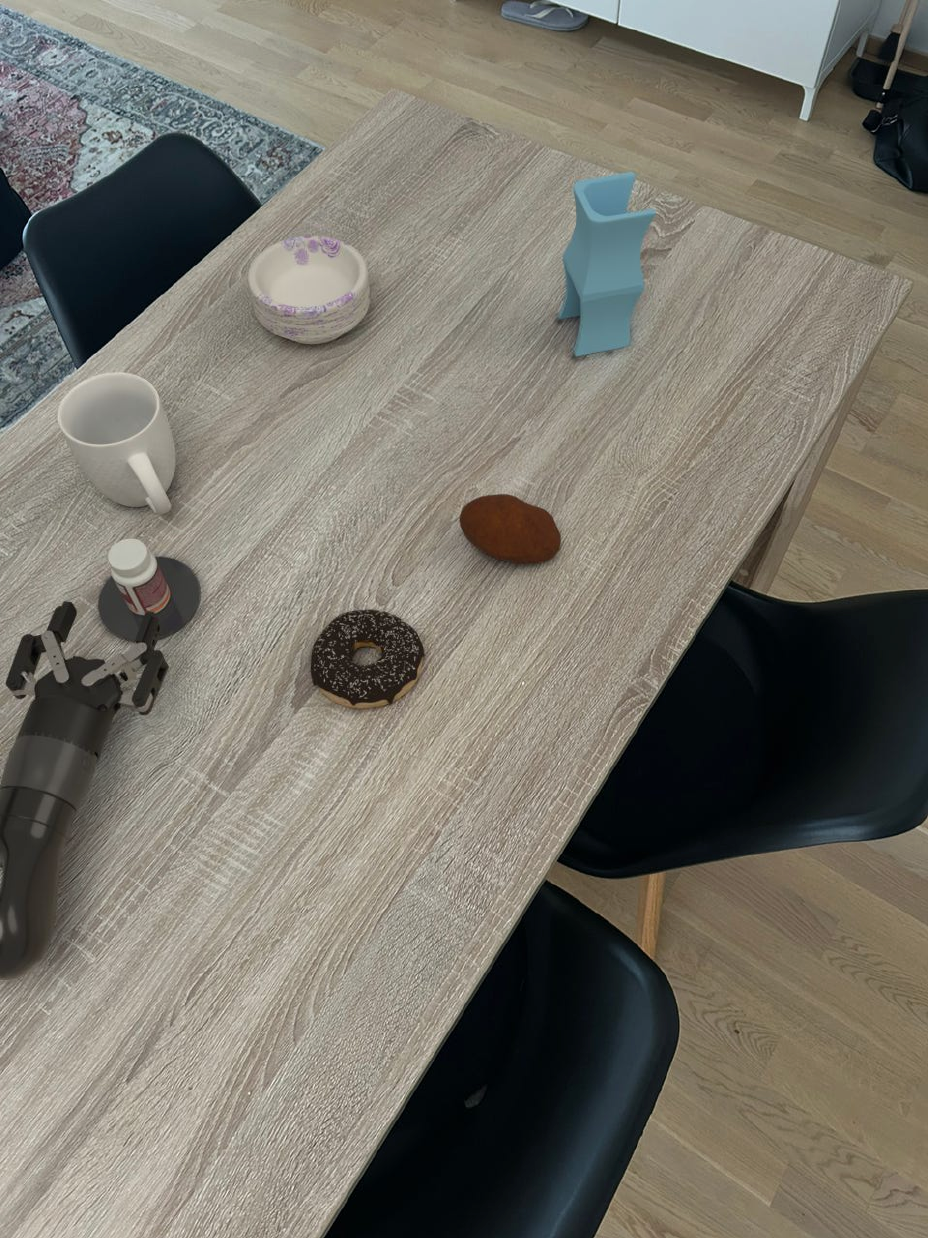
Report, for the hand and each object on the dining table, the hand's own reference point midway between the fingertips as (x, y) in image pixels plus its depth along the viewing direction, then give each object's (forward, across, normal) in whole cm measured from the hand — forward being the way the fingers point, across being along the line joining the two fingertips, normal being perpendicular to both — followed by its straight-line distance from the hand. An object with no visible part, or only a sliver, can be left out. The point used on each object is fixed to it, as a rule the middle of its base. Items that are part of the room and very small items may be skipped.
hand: (112, 610), depth 105 cm
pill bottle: (+6, 0, -7) cm, 9 cm away
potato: (+19, +38, -8) cm, 43 cm away
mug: (+21, -5, -8) cm, 23 cm away
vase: (+55, +45, -8) cm, 72 cm away
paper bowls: (+52, +8, -8) cm, 53 cm away
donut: (+1, +26, -8) cm, 27 cm away
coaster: (+6, 0, -8) cm, 10 cm away
